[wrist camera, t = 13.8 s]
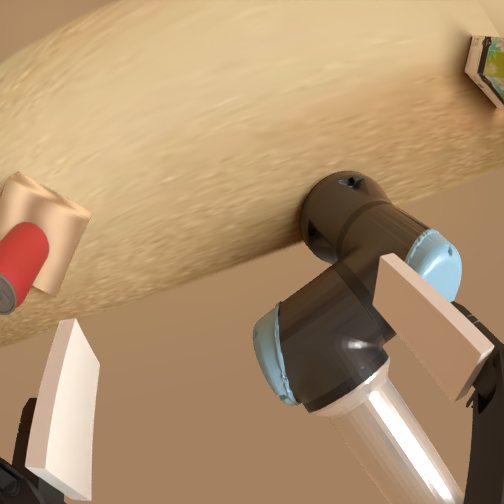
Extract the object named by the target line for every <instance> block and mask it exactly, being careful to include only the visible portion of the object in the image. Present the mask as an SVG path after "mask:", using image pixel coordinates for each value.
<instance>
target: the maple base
mask: <svg viewBox="0 0 504 504" xmlns="http://www.w3.org/2000/svg"><path fill="white" fill-rule="evenodd" d="M92 214H93V213H92V212H90V211H88V210H86V209H84V208H82V207H81V206H79V205H77V204H75V203H73V202H71V201H70V200H68V199H66V198H64V197H62V196H61V195H59V194H57V193H55V192H54V191H52V190H50V189H48V188H46V187H45V186H43V185H41V184H39V183H38V182H36V181H34V180H32V179H31V178H29V177H27V176H25V175H24V174H22V173H20V172H17V173H16V174H14V175H13V176H11V177H10V178H8V179H7V180H6V183H5V186H4V189H3V192H2V195H1V198H0V241H1V240H2V239H3V238H4V237H5V236H6V235H7V233H8V232H9V231H10V230H11V229H12V228H13V227H14V226H15V225H17V224H18V223H22V222H29V223H33V224H35V225H37V226H38V227H39V228H40V229H42V230H43V232H44V233H45V235H46V236H47V239H48V242H49V254H48V258H47V259H46V261H45V263H44V265H43V266H42V268H41V270H40V272H39V273H38V275H37V277H36V279H35V281H34V283H33V284H32V285H33V286H34V287H36V288H38V289H40V290H42V291H44V292H46V293H48V294H50V295H52V296H54V297H56V296H57V294H58V291H59V289H60V287H61V284H62V282H63V279H64V277H65V274H66V272H67V269H68V267H69V264H70V262H71V260H72V257H73V255H74V253H75V250H76V248H77V246H78V243H79V241H80V239H81V237H82V235H83V232H84V230H85V228H86V226H87V224H88V222H89V220H90V218H91V216H92Z"/></svg>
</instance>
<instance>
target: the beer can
mask: <svg viewBox="0 0 504 504" xmlns="http://www.w3.org/2000/svg"><path fill="white" fill-rule="evenodd" d="M48 254H49V242H48V239H47V236H46V235H45V233H44V232H43V230H42V229H40V228H39V227H38V226H37V225H35V224H33V223H29V222H22V223H18V224H17V225H15V226H14V227H13V228H12V229H11V230H10V231H9V232H8V233H7V235H6V236H5V237H4V238H3V239H2V240H1V241H0V314H1V315H7V314H10V313H12V312H13V311H14V309H15V308H16V307H18V306H19V305H20V304H21V303H22V302H23V301H24V299H25V298H26V296H27V294H28V292H29V290H30V288H31V286H32V284H33V283H34V281H35V279H36V277H37V275H38V273H39V272H40V270H41V268H42V266H43V265H44V263H45V261H46V259H47V258H48Z"/></svg>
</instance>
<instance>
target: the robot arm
mask: <svg viewBox="0 0 504 504" xmlns="http://www.w3.org/2000/svg"><path fill="white" fill-rule="evenodd" d="M300 230H301V235H302V238H303V240H304V242H305V244H306V245H307V246H308V247H309V249H310V250H311V251H312V252H313V253H314V254H315V255H316V256H317V257H318V258H320V259H321V260H323V261H325V262H328V263H330V264H333V265H332V266H330V267H329V268H328V269H326V270H325V271H324V272H323V273H321V274H320V275H319V276H317V277H316V278H315V279H313V280H312V281H311V282H309V283H308V284H307V285H305V286H304V287H303V288H301V289H300V290H298V291H297V292H296V293H294V294H293V295H291V296H290V297H289V298H287V299H286V300H285V301H283V302H281V301H280V302H279V303H277V305H276V307H275V308H274V309H272V310H271V311H270V312H269V313H267V314H266V315H265V316H264V317H262V318H261V319H260V320H259V321H258V322H257V323H256V325H255V327H254V330H253V342H254V343H253V344H254V350H255V353H256V357H257V360H258V362H259V365H260V367H261V370H262V372H263V374H264V376H265V378H266V380H267V382H268V383H269V385H270V386H271V388H272V390H273V391H274V393H275V394H276V395H279V397H280V399H281V401H283V402H284V403H285V404H287V405H290V406H293V405H299V404H300V403H302V404H303V405H304V406H305V408H306V409H307V411H308V412H309V413H310V414H311V415H316V416H322V417H326V418H328V419H329V420H330V421H331V423H332V424H333V426H334V427H335V429H336V430H337V431H338V433H339V434H340V436H341V437H342V439H343V440H344V441H345V443H346V444H347V446H348V447H349V448H350V450H351V451H352V453H353V454H354V455H355V457H356V458H357V459H358V461H359V462H360V464H361V465H362V466H363V468H364V469H365V471H366V472H367V473H368V475H369V476H370V477H371V479H372V480H373V482H374V483H375V484H376V485H377V487H378V488H379V490H380V491H381V493H382V494H383V495H384V496H385V498H386V499H387V501H388V502H389V503H390V504H504V344H502V343H501V342H500V341H499V340H498V339H497V338H496V337H495V336H494V335H493V334H492V333H491V332H490V331H489V330H488V329H487V328H486V327H485V326H484V325H483V324H482V323H480V322H478V319H477V318H475V317H474V316H472V314H471V313H470V312H469V311H468V310H467V309H466V308H465V307H464V306H462V305H460V304H458V303H456V302H454V298H455V296H456V293H457V291H458V288H459V284H460V280H461V272H462V265H461V259H460V256H459V253H458V251H457V250H456V248H455V247H454V246H453V245H452V244H451V243H449V242H448V241H447V240H446V239H445V238H443V237H442V236H441V234H440V233H439V232H438V231H436V230H433V229H431V228H430V227H428V226H426V225H425V224H423V223H422V222H420V221H419V220H417V219H416V218H414V217H412V216H411V215H409V214H407V213H406V212H404V211H403V210H401V209H400V208H398V207H396V206H394V205H393V204H392V203H391V201H390V200H389V198H388V197H387V195H386V194H385V193H384V191H383V190H382V188H381V187H380V186H379V185H378V184H377V183H376V182H375V181H374V180H373V179H371V178H369V177H367V176H365V175H364V174H361V173H359V172H355V171H342V172H337V173H334V174H332V175H330V176H328V177H326V178H325V179H323V180H322V181H321V182H320V183H318V184H317V185H316V186H315V187H314V189H313V190H312V191H311V192H310V194H309V195H308V197H307V199H306V201H305V203H304V205H303V208H302V212H301V217H300ZM396 334H398V335H399V337H400V338H401V339H402V340H403V341H404V343H405V344H406V345H407V346H408V347H409V348H410V350H411V351H412V352H413V353H414V355H415V356H416V357H417V358H418V360H419V361H420V362H421V363H422V365H423V366H424V367H425V368H426V369H427V371H428V372H429V373H430V375H431V376H432V377H433V378H434V380H435V381H436V382H437V383H438V384H439V386H440V387H441V388H442V390H443V391H444V392H445V393H446V395H447V396H448V398H449V399H450V400H451V401H452V402H453V403H454V402H456V401H457V400H459V399H460V398H462V397H463V396H465V395H466V394H467V393H468V391H469V389H470V388H471V386H472V385H473V387H474V388H475V389H476V390H475V391H474V393H473V394H472V396H471V397H470V399H469V400H468V402H467V404H466V407H469V405H470V404H471V402H472V401H473V405H472V407H471V408H473V425H472V440H471V452H470V453H471V454H470V462H469V471H468V478H467V485H466V491H465V493H462V492H461V490H460V488H459V486H458V485H457V483H456V482H455V480H454V478H453V477H452V475H451V473H450V472H449V470H448V469H447V467H446V465H445V464H444V462H443V461H442V459H441V458H440V456H439V454H438V453H437V451H436V450H435V448H434V446H433V445H432V443H431V442H430V440H429V439H428V437H427V436H426V434H425V433H424V431H423V429H422V428H421V426H420V425H419V423H418V422H417V420H416V419H415V417H414V416H413V414H412V413H411V411H410V410H409V409H408V407H407V405H406V404H405V402H404V401H403V399H402V398H401V396H400V395H399V393H398V392H397V390H396V389H395V387H394V386H393V384H392V383H391V382H390V380H389V379H388V367H389V363H390V358H389V356H388V355H387V353H386V352H385V350H384V349H383V347H382V346H383V345H384V344H385V343H386V342H387V341H389V340H390V339H391V338H393V337H394V336H395V335H396ZM99 368H100V364H99V362H98V360H97V358H96V357H95V355H94V353H93V351H92V349H91V347H90V346H89V344H88V342H87V340H86V338H85V336H84V334H83V332H82V330H81V328H80V326H79V324H78V322H77V320H76V318H74V319H68V320H62V321H60V322H59V325H58V328H57V331H56V334H55V338H54V341H53V344H52V347H51V350H50V353H49V357H48V361H47V364H46V367H45V371H44V374H43V378H42V382H41V386H40V390H39V394H38V398H29V400H28V402H27V403H26V405H25V406H24V408H23V411H22V415H21V420H20V421H21V423H20V424H19V429H18V431H19V433H17V438H16V444H15V450H14V455H13V461H12V465H10V464H9V463H8V462H7V461H5V460H4V459H2V458H0V504H66V503H65V502H64V495H66V496H68V497H69V498H71V499H72V500H86V501H91V468H92V466H91V465H92V441H93V426H94V413H95V402H96V393H97V384H98V376H99Z"/></svg>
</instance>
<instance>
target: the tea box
mask: <svg viewBox="0 0 504 504" xmlns="http://www.w3.org/2000/svg"><path fill="white" fill-rule="evenodd" d="M464 72H465V73H467V74H468V76H469V77H470V78H471V79H472V80H473V81H474V82H475V83H476V84H477V85H478V86H479V88H480V89H481V90H482V91H483V92H484V93H485V94H486V95H487V96H488V97H489V99H490V100H491V101H492V102H493V103H494V105H495V106H496V107H497V108H499V109H502V110H504V38H499V37H486V36H474V35H473V38H472V42H471V46H470V50H469V54H468V58H467V63H466V67H465V71H464Z"/></svg>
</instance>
